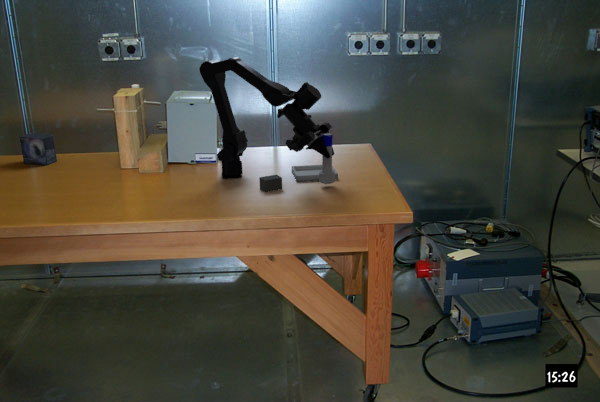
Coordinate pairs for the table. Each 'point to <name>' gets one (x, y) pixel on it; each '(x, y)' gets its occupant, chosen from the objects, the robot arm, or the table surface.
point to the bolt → (327, 163)
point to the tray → (309, 172)
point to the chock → (270, 183)
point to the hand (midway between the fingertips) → (331, 156)
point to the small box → (38, 149)
